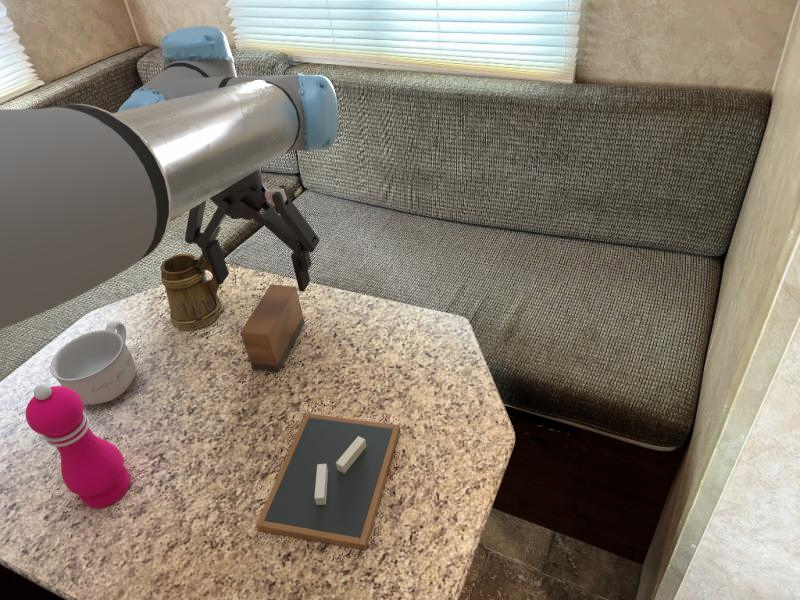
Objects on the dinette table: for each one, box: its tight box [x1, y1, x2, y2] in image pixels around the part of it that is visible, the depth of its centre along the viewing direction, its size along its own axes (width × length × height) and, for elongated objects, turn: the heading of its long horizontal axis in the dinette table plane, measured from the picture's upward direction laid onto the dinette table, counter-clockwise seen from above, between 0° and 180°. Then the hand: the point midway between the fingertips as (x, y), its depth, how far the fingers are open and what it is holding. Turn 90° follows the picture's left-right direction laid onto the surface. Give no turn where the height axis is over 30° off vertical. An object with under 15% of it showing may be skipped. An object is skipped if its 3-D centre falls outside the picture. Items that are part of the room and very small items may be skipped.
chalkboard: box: [255, 412, 401, 551], centre depth 80 cm, size 18×14×1 cm
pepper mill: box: [25, 383, 131, 509], centre depth 75 cm, size 7×7×20 cm
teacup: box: [49, 320, 136, 405], centre depth 95 cm, size 14×11×8 cm
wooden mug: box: [160, 225, 224, 331], centre depth 103 cm, size 9×14×18 cm, turn 90°
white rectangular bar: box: [314, 464, 328, 505], centre depth 77 cm, size 5×1×2 cm, turn 2°
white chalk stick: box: [336, 436, 366, 474], centre depth 80 cm, size 5×1×2 cm, turn 147°
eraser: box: [239, 283, 305, 373], centre depth 98 cm, size 12×5×8 cm, turn 167°
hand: (263, 282), depth 93 cm, fingers open, 13 cm apart
